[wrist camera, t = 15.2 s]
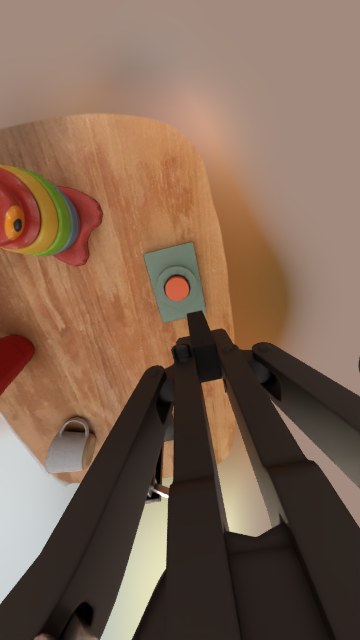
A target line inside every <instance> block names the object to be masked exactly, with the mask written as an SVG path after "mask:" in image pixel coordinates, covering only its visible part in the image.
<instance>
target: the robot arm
mask: <svg viewBox="0 0 360 640" xmlns="http://www.w3.org/2000/svg"><path fill="white" fill-rule="evenodd" d="M187 320H188V326H189V332H190V336H187V337H183V338H179V339H178V340H177V342H176V345H175V346H174V347H173V348H172V350H171V351H172V354H173V358H174V364H173V365H172V366H170V367H168V368H166V369H164V368H163V367H162V366H159V365H157V366H152V367H150V368H149V369H147V370H146V371H145V372H144V374H143V376H142V378H141V379H140V381H139V383H138V385H137V386H136V388H135V390H134V392H133V393H132V395H131V397H130V398H129V400H128V402H127V404H126V405H125V407H124V409H123V411H122V412H121V414H120V416H119V418H118V419H117V421H116V423H115V425H114V426H113V428H112V430H111V432H110V433H109V435H108V437H107V438H106V440H105V442H104V444H103V445H102V447H101V449H100V451H99V452H98V454H97V456H96V458H95V459H94V461H93V463H92V465H91V466H90V468H89V470H88V472H87V473H86V475H85V477H84V478H83V480H82V482H81V484H80V485H79V487H78V489H77V491H76V492H75V494H74V496H73V498H72V499H71V501H70V503H69V505H68V506H67V508H66V510H65V512H64V513H63V515H62V517H61V518H60V520H59V522H58V524H57V526H56V527H55V529H54V531H53V533H52V534H51V536H50V538H49V539H48V541H47V543H46V545H45V546H44V548H43V550H42V552H41V553H40V555H39V556H38V557H37V559H36V560H35V561H34V563H33V564H32V565H31V566H30V567H29V569H28V570H27V571H26V573H25V574H24V575H23V576H22V578H21V579H20V580H19V581H18V583H17V584H16V585H15V586H14V588H13V589H12V590H11V591H10V593H9V594H8V595H7V597H6V598H5V599H4V600H3V601H2V603H1V604H0V640H100V638H101V636H102V634H103V631H104V629H105V626H106V624H107V621H108V619H109V616H110V614H111V611H112V609H113V606H114V604H115V601H116V598H117V595H118V592H119V589H120V586H121V582H122V580H123V576H124V573H125V570H126V566H127V563H128V560H129V556H130V553H131V549H132V546H133V542H134V539H135V535H136V532H137V529H138V525H139V522H140V519H141V515H142V512H143V508H144V505H145V502H146V498H147V495H148V491H149V488H150V485H151V481H152V478H153V474H154V471H155V468H156V464H157V461H158V457H159V454H160V451H161V447H162V444H163V440H164V437H165V434H166V430H167V427H168V423H169V420H170V416H171V413H172V410H173V406H174V470H173V483H172V484H171V485H170V488H169V495H168V523H167V524H168V527H167V558H166V569H165V571H164V572H163V574H162V576H161V577H160V579H159V581H158V583H157V585H156V587H155V589H154V591H153V593H152V596H151V598H150V600H149V602H148V605H147V607H146V609H145V611H144V614H143V616H142V618H141V620H140V623H139V625H138V627H137V629H136V632H135V634H134V636H133V638H132V640H360V528H359V526H358V525H357V523H356V522H355V520H354V519H353V517H352V516H351V514H350V513H349V511H348V509H347V508H346V506H345V505H344V503H343V502H342V500H341V499H340V497H339V496H338V494H337V493H336V491H335V490H334V488H333V486H332V485H331V483H330V482H329V480H328V479H327V477H326V476H325V474H324V473H323V471H322V470H321V469H320V467H319V466H318V465H317V464H316V463H315V462H314V461H311V460H308V459H307V458H306V457H305V455H304V454H303V452H302V451H301V449H300V447H299V446H298V444H297V442H296V441H295V439H294V438H293V436H292V434H291V433H290V431H289V429H288V428H287V426H286V424H285V423H284V421H283V420H282V418H281V417H280V415H279V413H278V411H277V410H276V408H275V407H274V405H273V403H272V402H271V400H272V401H273V402H274V403H275V404H276V405H277V406H278V407H279V408H280V409H281V410H282V411H283V412H284V413H285V414H286V415H287V416H288V417H289V418H290V419H291V420H292V421H293V422H294V423H295V424H296V425H297V426H298V427H299V428H300V429H301V430H302V431H303V432H304V433H305V434H306V435H307V436H308V437H309V438H310V439H311V440H312V441H313V442H314V443H315V444H316V445H317V446H318V447H319V448H320V449H321V450H322V451H323V452H324V453H325V454H326V455H327V456H328V457H329V458H330V459H331V460H332V461H333V462H334V463H335V464H336V465H337V466H338V467H339V468H340V469H341V470H342V471H343V472H344V473H345V474H346V475H347V476H348V477H349V478H350V479H351V480H352V481H353V482H354V483H355V484H356V485H357V486H358V487H359V488H360V396H358V395H357V394H355V393H353V392H352V391H350V390H348V389H347V388H345V387H343V386H342V385H340V384H338V383H337V382H335V381H333V380H331V379H330V378H328V377H327V376H325V375H323V374H322V373H320V372H318V371H317V370H315V369H313V368H311V367H310V366H308V365H307V364H305V363H303V362H301V361H300V360H298V359H297V358H295V357H293V356H291V355H290V354H288V353H286V352H285V351H283V350H281V349H280V348H278V347H277V346H275V345H273V344H271V343H266V342H261V343H257V344H255V345H254V346H253V347H252V350H241V349H239V348H238V346H236V345H234V344H233V343H232V341H231V339H230V338H229V336H228V334H227V333H226V331H225V330H223V329H216V330H212V331H210V328H209V326H208V324H207V321H206V319H205V316H204V314H203V311H202V310H200V311H196V312H191V313H187ZM222 377H223V382H224V388H225V393H226V392H227V395H228V397H229V400H230V403H231V406H232V409H233V412H234V415H235V418H236V421H237V424H238V426H239V429H240V432H241V435H242V438H243V441H244V444H245V446H246V449H247V452H248V456H249V458H250V461H251V464H252V467H253V470H254V473H255V476H256V479H257V482H258V484H259V487H260V490H261V493H262V496H263V499H264V502H265V505H266V508H267V511H268V514H269V517H270V522H271V525H272V529H270V530H268V531H267V532H265V533H263V534H262V535H260V536H258V537H252V536H247V535H243V534H238V533H234V532H229V528H228V524H227V519H226V513H225V508H224V503H223V498H222V492H221V487H220V482H219V476H218V471H217V465H216V460H215V455H214V449H213V444H212V439H211V433H210V428H209V423H208V417H207V412H206V407H205V401H204V396H203V391H202V386H201V383H202V382H207V381H212V380H217V379H222ZM270 399H271V400H270Z"/></svg>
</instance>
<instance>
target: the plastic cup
mask: <svg viewBox="0 0 360 640" xmlns="http://www.w3.org/2000/svg"><path fill="white" fill-rule="evenodd" d="M33 354H34V347H33V345H32V343H31V342H30V341H29V340H28V339H26V338H24V337H22V336H18V335H12V336H6V337H3V338H0V395H1V394H2V393H3V392H4V390H5V389H6V388H7V387H8V386H9V384H10V383H11V382H12V381H13V380H14V379H15V378H16V376H17V375H18V374H19V373H20V372H21V371H22V370H23V368H24V366H25V365H26V364H27V363H28V362H29V361H30V360H31V358H32V356H33Z"/></svg>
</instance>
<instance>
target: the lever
mask: <svg viewBox="0 0 360 640" xmlns="http://www.w3.org/2000/svg"><path fill="white" fill-rule="evenodd" d="M153 492H155V493H157V494H160V495H162V496H165V497H167V498H168V495H169V488H167V487H165V486H162V485H160V484H157V481H156V479H155V486H154V489H150V490H149V491H148V495H147V496H149V497H151V496H152V494H153Z"/></svg>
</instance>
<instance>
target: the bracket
mask: <svg viewBox="0 0 360 640" xmlns="http://www.w3.org/2000/svg"><path fill="white" fill-rule="evenodd" d="M170 440H174V419H173V416H172V414H171V416H170V420H169V423H168V427H167V430H166V434H165V437H164V440H163V444H162V447H161V451H160V454H159V457H158V461H157V464H156V468H155V471H154V474H153V478H152V481H151V485H150V488H149V490H150V489H154V486H155V479H156V481H157V484H160V485H162V470H163V450H164V442H165V441H170ZM159 501H161V495H160V494H157V493H155V492H153V494H152V496H151V497H149V496H147V498H146V502H145V504H148V503H153V502H159Z"/></svg>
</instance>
